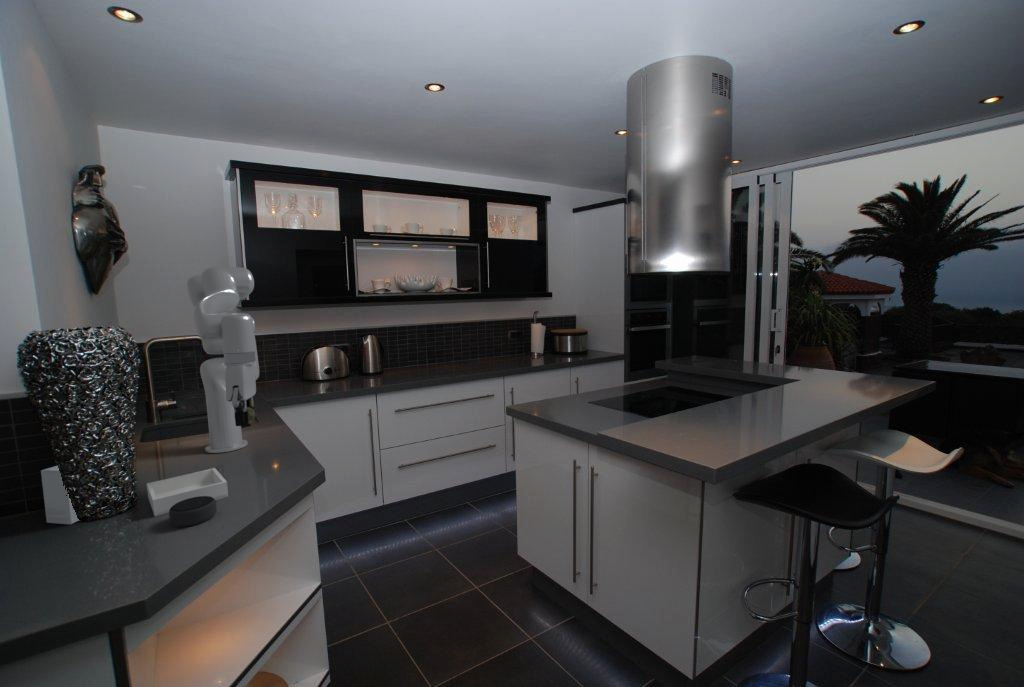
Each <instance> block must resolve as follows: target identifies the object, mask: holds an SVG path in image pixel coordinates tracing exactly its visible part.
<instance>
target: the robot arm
mask: <svg viewBox="0 0 1024 687" xmlns="http://www.w3.org/2000/svg"><path fill="white" fill-rule="evenodd" d="M186 282H187V283H186V287H187V293H188V296H189V300H190V301H191V303H192V306H193V307H194V311H193V320H194V325H195V328H196V333H197V335H198V336H199V338H201V344H202V349H203V350H204V352H205V353H206V354H209V355H223V357H215V358H210V359H207V360H205V361H204V362H202V363H201V364H200V368H199V373H200V377H201V380H202V384H203V388H204V389H203V390H204V394H205V404H206V413H207V414H206V415H207V421H208V422H207V424H208V435H209V436H208V437H209V444H208V445H207V446H206V447H204V450H205V452H206V453H209V454H219V453H228V452H232V451H236V450H240V449H243V448H245V447H246V446H247V445H248V440H246V439H243V433H242V427H245V426H249V425H250V423H249V418H248V411H246V406H247V407H250V408H251V409H253V410H254V411H255V407H254V406H255V404H254V396H255V395H256V393H257V382H256V381H257V380H258V379H259V377H260V365H259V364H260V363H259V357H258V350H257V341H256V336H255V331H256V322H255V319H254V318H253V317H252V316H251V315H250V314H249V313H245V312H234V313H233V312H232V313H231V312H230V311H232V310H233V309H235V308H236V307H238V305H239V302H240V300H244V299H246V298H248V297H249V295H250V294H251V293H252V292H253V291H254V289H255V279H254V276H253V274H252V272H251V271H250V270H249V269H248V268H245V267H239V266H212V267H208V268H206V269H204V270H203V272H202V273H201V274H199V275H193V276H191V277H189V278H188V280H187V281H186ZM234 416H235V417H234ZM255 419H256V418H255ZM255 419H254V421H255Z"/></svg>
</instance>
